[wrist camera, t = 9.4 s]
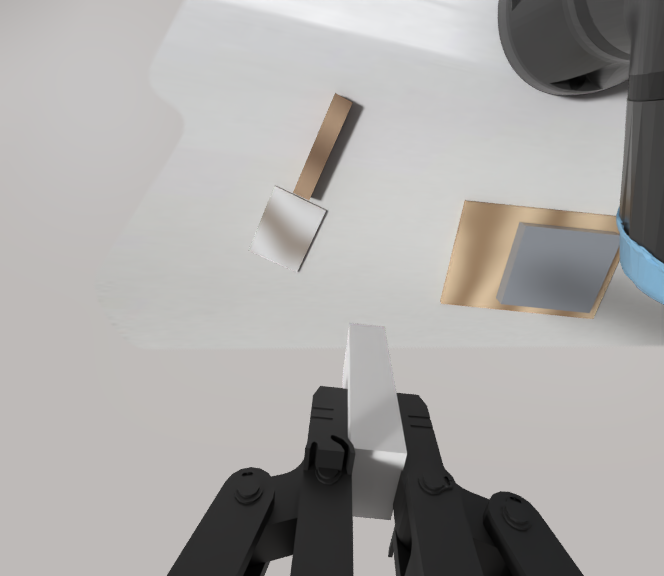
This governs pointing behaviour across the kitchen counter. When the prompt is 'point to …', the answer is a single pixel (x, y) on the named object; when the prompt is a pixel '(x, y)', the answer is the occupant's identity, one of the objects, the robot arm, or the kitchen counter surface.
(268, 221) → the turner
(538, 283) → the tile
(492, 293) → the board
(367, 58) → the kitchen counter surface
